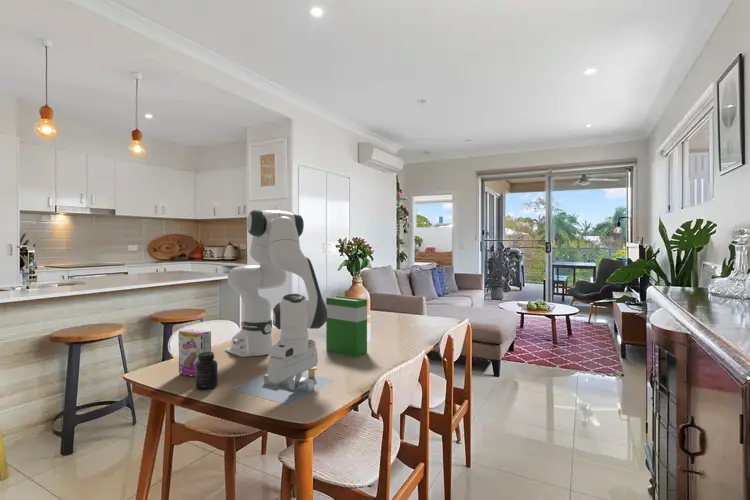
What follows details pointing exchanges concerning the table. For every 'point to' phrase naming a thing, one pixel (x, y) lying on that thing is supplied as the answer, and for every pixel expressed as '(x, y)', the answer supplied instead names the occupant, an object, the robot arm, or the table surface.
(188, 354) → the candy bar box
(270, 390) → the board
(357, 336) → the hardback book
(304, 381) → the link
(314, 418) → the table surface
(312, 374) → the keeper
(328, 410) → the table surface
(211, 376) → the supplement bottle
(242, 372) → the table surface
